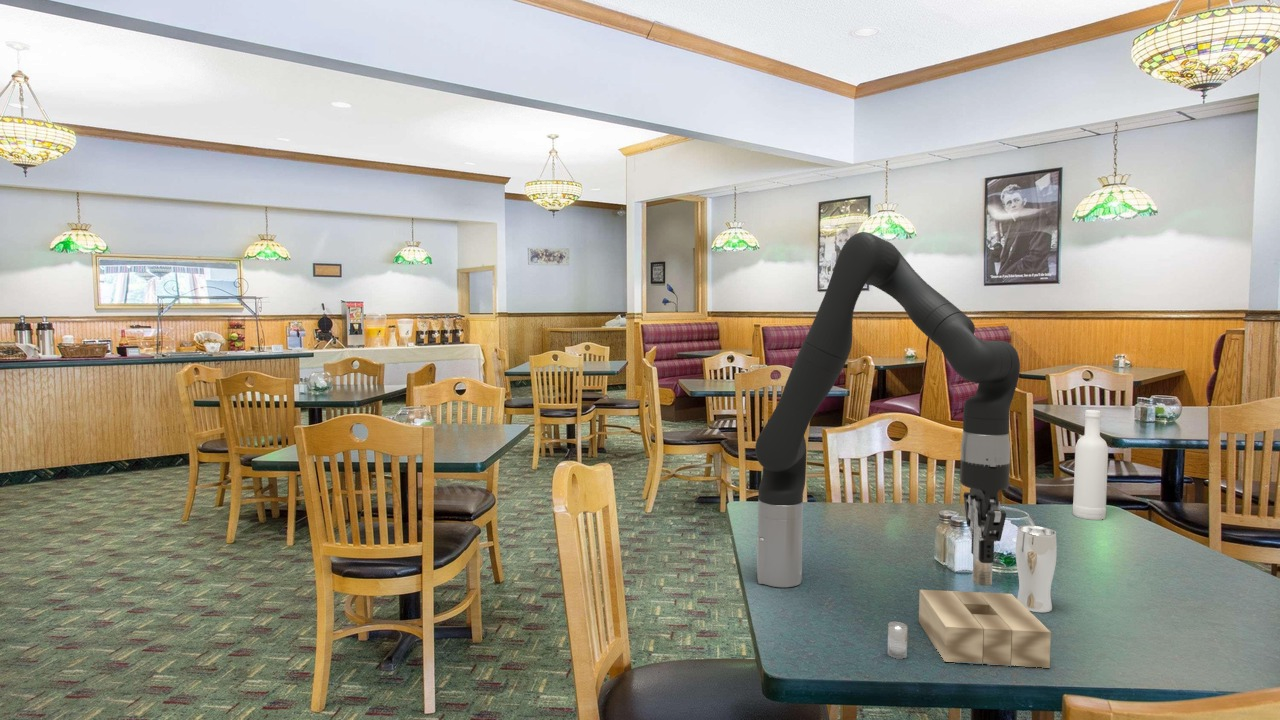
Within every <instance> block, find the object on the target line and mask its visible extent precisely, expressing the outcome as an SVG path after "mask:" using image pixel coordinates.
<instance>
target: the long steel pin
mask: <svg viewBox="0 0 1280 720" xmlns="http://www.w3.org/2000/svg"><path fill="white" fill-rule="evenodd" d="M981 521H982V522H986V520H981ZM990 533H991V531H990ZM978 558H979V527H978V526H977V525H976V524H975V509H974V543H973V554H972V582H973V583H974V584H977V585H979V586H991V585H992V584H993V563H981V562H980V561H979V559H978Z"/></svg>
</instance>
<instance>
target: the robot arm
mask: <svg viewBox="0 0 1280 720" xmlns="http://www.w3.org/2000/svg"><path fill="white" fill-rule="evenodd" d="M838 254H839V255H838V256H837V259H836V261H835V265H834V268H833V270H832V273H831V277H830V279H829V282H828V286H827V288H826V291H825V293H824V296H823V299H822V301H821V303H820V306H819V308H818V309H817V312H816V315H815V317H814V320H813V322H812V324H811V326H810V328H809V330H808V333H807V335H806V337H805V339H804V340H803V342H802V345H801V347H800V349H799V351H798V353H797V355H796V358H795V360H794V362H793V365H792V368H791V370H790V373H789V375H788V378H787V380H786V383H785V386H784V389H783V390H782V394H781V397H780V399H779V401H778V403H777V405H776V406H775V409H774V410H773V412H772V414H771V416H770V417H769V419H768V421H767V422H766V424H765V425H764V427H763V428H762V430H761V432H760V434H758V437H757V439H756V442H755V455H756V459H757V461H758V463H759V464H760V465H761V467H762V475H761V480H760V482H759V485H758V493H757V494H758V496H757V497H758V499H757V500H758V501H757V502H758V505H757V508H758V509H757V514H758V515H757V516H758V517H757V519H758V521H757V532H756V533H757V534H756V537H757V539H756V543H757V544H756V577H757V584H759V585H761V584H762V585H766V586H768V587H774V588H775V587H776V588H792V587H796V586H798V585H801V583H802V577H803V575H802V574H803V569H802V568H803V565H802V564H803V514H804V513H803V509H804V507H803V506H804V505H803V504H804V499H803V498H804V490H805V486H806V474H807V442H806V438H805V435H806V432H807V429H808V427H809V425H810V422H811V420H812V418H813V416H814V415H815V413H816V411H817V410H818V408H819V407H820V406H821V404H822V403H823V401H824V400H825V399H826V397H828V395H829V393H830V392H831V390H832V389H833V387H834V386H835V384H836V382H837V380H838V378H839V377H840V374H841V373H842V371H843V369H844V366H845V364H846V362H847V360H848V358H849V356H850V353H851V351H852V350H851V349H852V346H853V345H852V344H853V325H854V324H853V323H854V322H853V321H854V320H853V319H854V311H855V308H856V304H857V302H858V299H859V297H860V295H861V292H862V291H863V289H864V286H865V285H867V286H873V287H875V288H877V289H879V290H880V291H882V292H884V293H885V294H887V295H888V296H890V297H892V298H893V299H894V300H895V301H896V302H898V304H899V305H900V306H901V307H902V308H903V309H904V311H905V313H906V314H907V316H908V317H909V318H910V320H911V321H912V323H913V324H914V325H915V326H916V327H917V329H919V330H920V331H921V332H922V333H923V334H924V335H925V336H926V337H928V339H930V341H931V342H933V343H934V344H935V345H936V346H937V347H939V349H940V350H941V352H942V354H943V356H944V357H945V359H946V360H947V361H948V363H949V364H950V367H952V369H953V371H954V372H955V373H957V374H958V375H959V376H960V377H961V378H962V379H964V380H966V381H967V382H970V383H973V384H978V386H977V390H976V393H974V394H973V395H972V396H971V397H968V398H967V399H966V400H965V402H964V405H963V411H962V412H963V413H962V415H963V417H962V418H963V419H962V422H963V423H962V437H961V441H960V442H961V443H960V472H959V473H960V475H959V478H960V479H959V481H960V484H961V485H962V486H964V487H966V488H969V491H968V492H965V491H964V493H963V501H964V502H963V503H964V511H965V519H966V526H967V527H969V531H970V533H971V554H972V555H973V543H974V509H975V524H976V525H977V526H978V527H979V558H978V559H979V561H980V562H981V563H992V564H993V563H994V559H995V557H994V556H995V555H994V554H995V542H1000V541H1001V540H1002V535H1003V531H1004V528H1005V527H1004V526H1005V522H1006V518H1007V512H1006V511H1005V510H1001V502H1000V499H999V492H1000V491H1004V490H1007V489H1008V488H1009V486H1010V468H1011V442H1010V434H1009V433H1010V407H1011V404H1012V402H1013V398H1014V397H1015V392H1016V388H1017V385H1018V381H1019V377H1020V373H1021V372H1020V371H1021V362H1020V356H1019V354H1018V351H1017V349H1016V348H1015V347H1014V346H1013V344H1011V343H1010V342H1007V341H1004V340H997V339H996V340H982V339H980V338H979V337H978V336H976V335H975V331H976V330H975V329H976V327H975V324H974V322H973V320H971V318H970V317H968V315H966V314H965V313H964V312H963V311H962V310H961V309H959V308H958V307H957V306H956V305H955V304H953V302H951V301H950V300H948V298H946V297H944V296H943V294H941V293H940V292H939V291H937V290H936V289H935V288H933V287H932V286H931V285H930V284H929V283H927V282H926V281H925V280H924V279H923V278H922V277H921V276H920V275H919V273H917V272H916V270H915V269H914V268H913V267H912V266H911V265H910V263H909V262H908V261H907V259H906V258H905V257H904V255H902V254H901V252H900V251H899V249H898V248H897V247H896V246H895V245H894V244H893V243H891V242H889V241H888V240H885V239H883V238H881V237H880V236H877V235H874V234H872V233H870V232H865V231H861V232H858V233H855V234H853V235H852V236H850V238H848V240H847V241H846V242H845V243H844V244H843V246H842V248H841V250H840V251H839V253H838ZM981 520H986V522H982V521H981ZM990 531H991V533H990Z"/></svg>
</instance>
